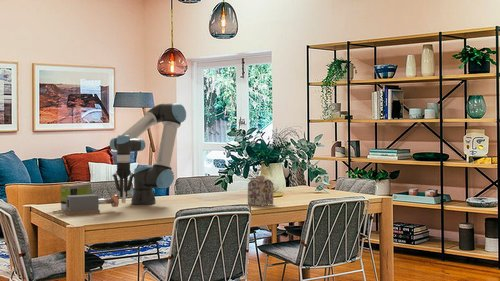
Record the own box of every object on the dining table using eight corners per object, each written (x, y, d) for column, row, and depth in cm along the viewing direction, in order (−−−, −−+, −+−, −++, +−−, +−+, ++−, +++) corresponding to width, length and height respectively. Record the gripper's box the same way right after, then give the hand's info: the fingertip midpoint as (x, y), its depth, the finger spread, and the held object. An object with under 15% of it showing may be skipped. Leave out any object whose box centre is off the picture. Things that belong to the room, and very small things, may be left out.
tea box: (81, 207, 405) (81, 182, 404) (92, 208, 398) (91, 183, 398) (60, 209, 393) (60, 184, 392) (70, 211, 387) (70, 185, 386)
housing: (93, 211, 386) (93, 193, 386) (99, 213, 376) (99, 195, 376) (63, 213, 378) (63, 195, 378) (69, 215, 368) (69, 197, 367)
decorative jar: (273, 204, 418) (273, 175, 417) (261, 206, 409) (261, 177, 409) (259, 203, 426) (259, 174, 425) (246, 204, 417) (247, 175, 417)
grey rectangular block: (114, 206, 390) (114, 194, 390) (118, 207, 384) (118, 195, 384) (78, 208, 380) (78, 195, 379) (82, 209, 374) (82, 197, 373)
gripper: (132, 161, 395) (132, 201, 395) (110, 161, 388) (110, 202, 389) (136, 162, 388) (136, 202, 389) (114, 162, 382) (114, 204, 382)
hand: (123, 202), depth 389 cm, fingers closed
